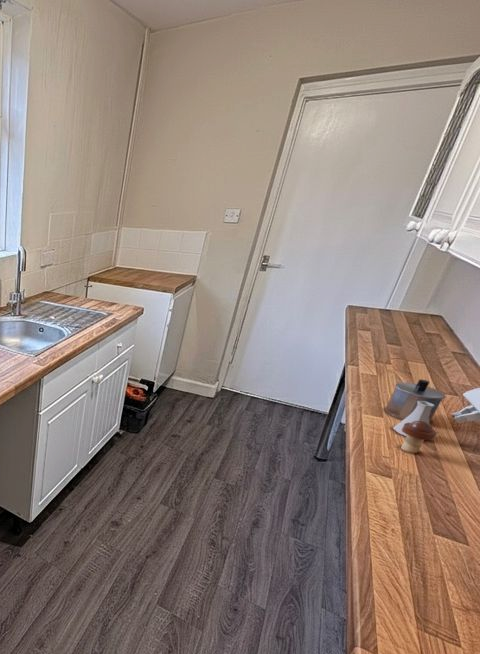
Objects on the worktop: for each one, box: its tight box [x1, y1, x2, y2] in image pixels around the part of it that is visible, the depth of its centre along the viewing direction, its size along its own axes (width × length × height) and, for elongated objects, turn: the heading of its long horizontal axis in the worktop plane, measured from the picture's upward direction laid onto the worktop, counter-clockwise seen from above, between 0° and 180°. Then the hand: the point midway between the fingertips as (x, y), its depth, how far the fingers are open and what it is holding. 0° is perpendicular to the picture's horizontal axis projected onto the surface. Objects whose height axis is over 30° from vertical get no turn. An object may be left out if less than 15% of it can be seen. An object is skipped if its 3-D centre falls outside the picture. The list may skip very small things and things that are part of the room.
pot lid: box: [394, 379, 446, 400], centre depth 125 cm, size 11×11×4 cm
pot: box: [384, 386, 443, 423], centre depth 127 cm, size 10×10×8 cm
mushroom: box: [400, 421, 437, 454], centre depth 109 cm, size 6×6×9 cm
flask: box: [392, 401, 435, 437], centre depth 117 cm, size 7×7×10 cm
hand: (454, 418), depth 113 cm, fingers closed
